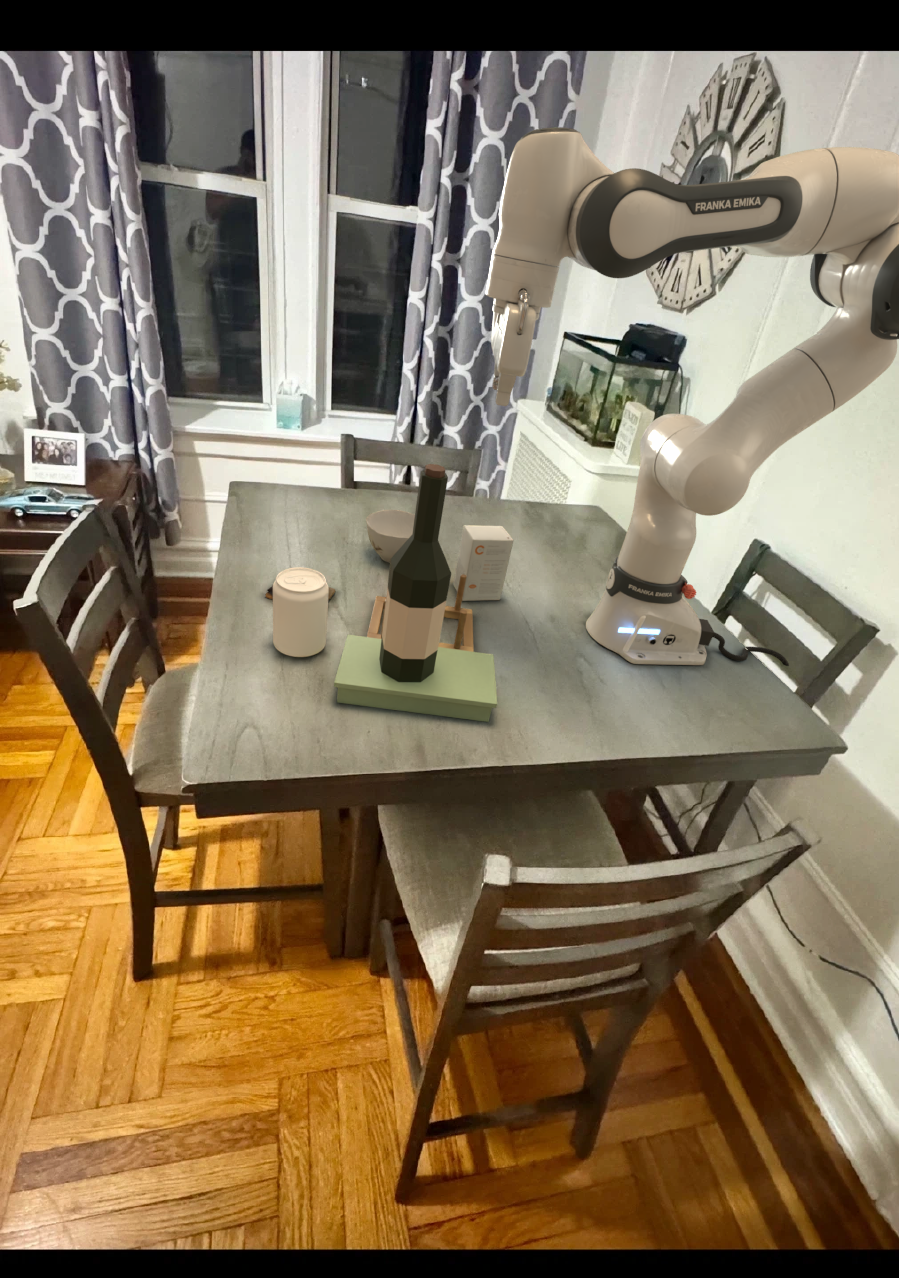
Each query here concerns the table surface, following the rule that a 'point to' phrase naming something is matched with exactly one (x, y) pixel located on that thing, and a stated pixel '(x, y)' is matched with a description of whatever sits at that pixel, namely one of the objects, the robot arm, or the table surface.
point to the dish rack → (456, 612)
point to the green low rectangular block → (449, 691)
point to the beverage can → (300, 612)
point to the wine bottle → (417, 588)
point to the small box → (483, 561)
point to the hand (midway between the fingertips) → (499, 396)
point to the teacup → (389, 531)
